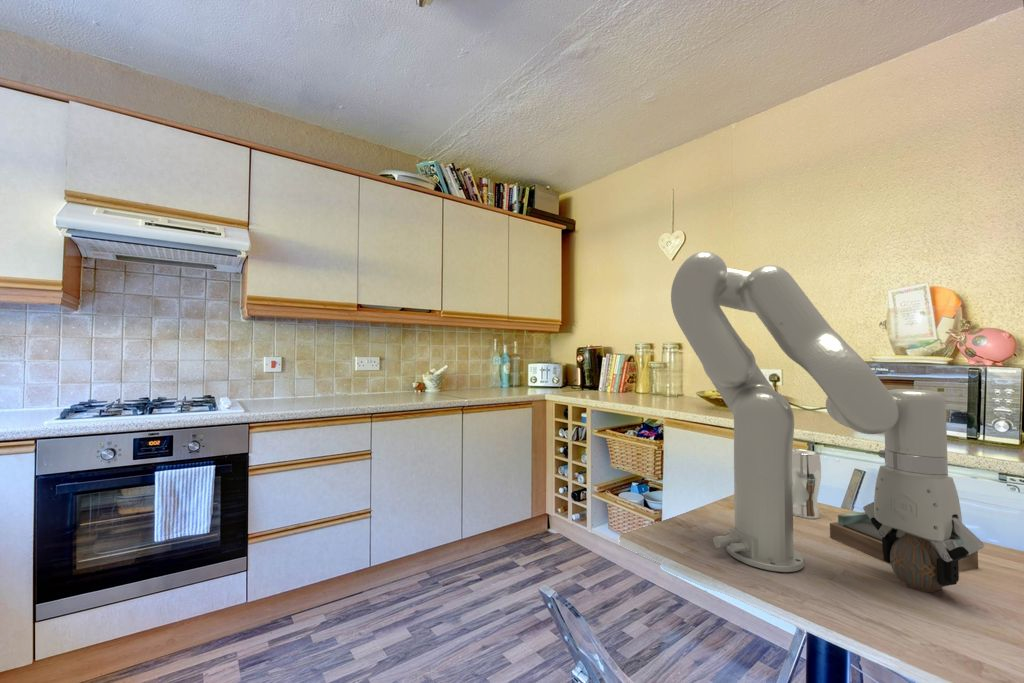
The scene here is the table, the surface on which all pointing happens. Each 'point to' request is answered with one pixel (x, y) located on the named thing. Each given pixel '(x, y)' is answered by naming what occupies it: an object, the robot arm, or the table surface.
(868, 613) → the table surface
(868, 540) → the dock
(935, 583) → the vase
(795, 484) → the beer glass
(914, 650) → the table surface
